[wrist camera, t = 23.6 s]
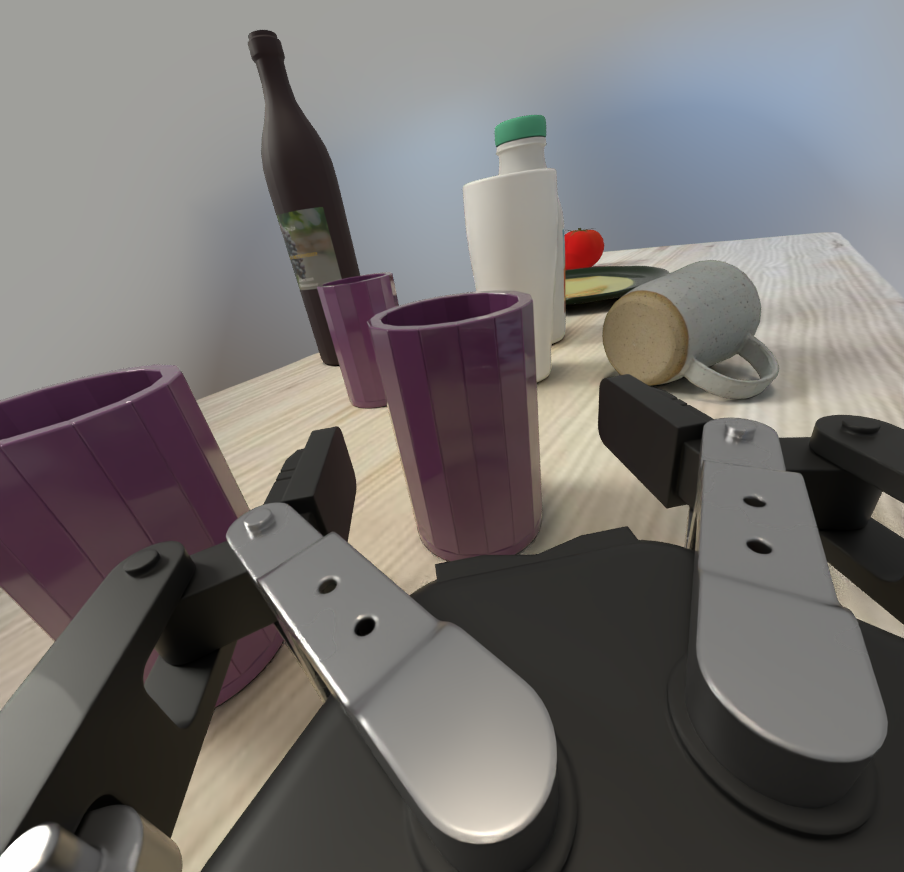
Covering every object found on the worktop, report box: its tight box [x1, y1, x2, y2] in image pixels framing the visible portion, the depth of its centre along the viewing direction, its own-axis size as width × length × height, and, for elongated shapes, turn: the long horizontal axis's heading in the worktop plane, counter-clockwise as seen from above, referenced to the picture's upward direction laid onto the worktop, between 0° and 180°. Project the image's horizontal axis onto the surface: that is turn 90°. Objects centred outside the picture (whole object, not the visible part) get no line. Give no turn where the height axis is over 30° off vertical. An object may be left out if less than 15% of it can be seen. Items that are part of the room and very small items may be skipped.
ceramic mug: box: [602, 260, 779, 399], centre depth 28 cm, size 11×8×8 cm
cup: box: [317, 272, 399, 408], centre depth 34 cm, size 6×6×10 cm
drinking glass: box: [463, 168, 558, 382], centre depth 31 cm, size 7×7×15 cm
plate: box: [565, 266, 669, 305], centre depth 62 cm, size 28×28×2 cm
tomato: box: [564, 228, 604, 270], centre depth 85 cm, size 9×10×8 cm
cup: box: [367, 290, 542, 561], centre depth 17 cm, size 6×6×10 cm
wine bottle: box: [248, 30, 360, 365], centre depth 42 cm, size 7×7×30 cm
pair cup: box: [0, 365, 284, 707], centre depth 13 cm, size 6×6×10 cm
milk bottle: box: [495, 115, 566, 344], centre depth 40 cm, size 8×8×20 cm
